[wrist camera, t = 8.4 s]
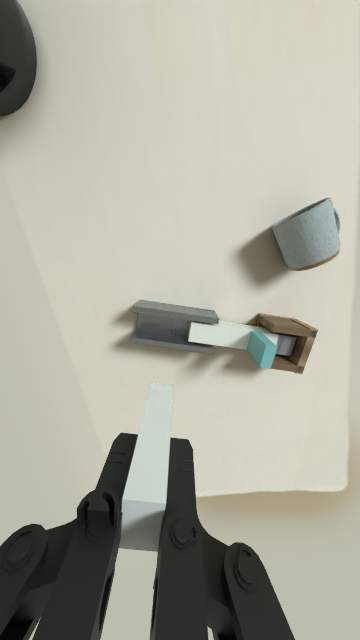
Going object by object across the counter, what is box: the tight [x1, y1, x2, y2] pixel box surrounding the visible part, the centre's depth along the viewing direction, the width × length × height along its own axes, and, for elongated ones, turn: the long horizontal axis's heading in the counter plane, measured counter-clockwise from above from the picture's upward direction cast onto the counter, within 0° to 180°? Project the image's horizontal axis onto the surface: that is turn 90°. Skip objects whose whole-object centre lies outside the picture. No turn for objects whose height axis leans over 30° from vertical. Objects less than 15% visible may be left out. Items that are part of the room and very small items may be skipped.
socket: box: [256, 313, 318, 374], centre depth 35 cm, size 8×7×6 cm
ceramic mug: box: [272, 198, 340, 271], centre depth 29 cm, size 11×8×8 cm
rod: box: [188, 320, 297, 369], centre depth 32 cm, size 4×18×10 cm, turn 82°
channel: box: [130, 300, 219, 354], centre depth 35 cm, size 6×14×6 cm, turn 82°
